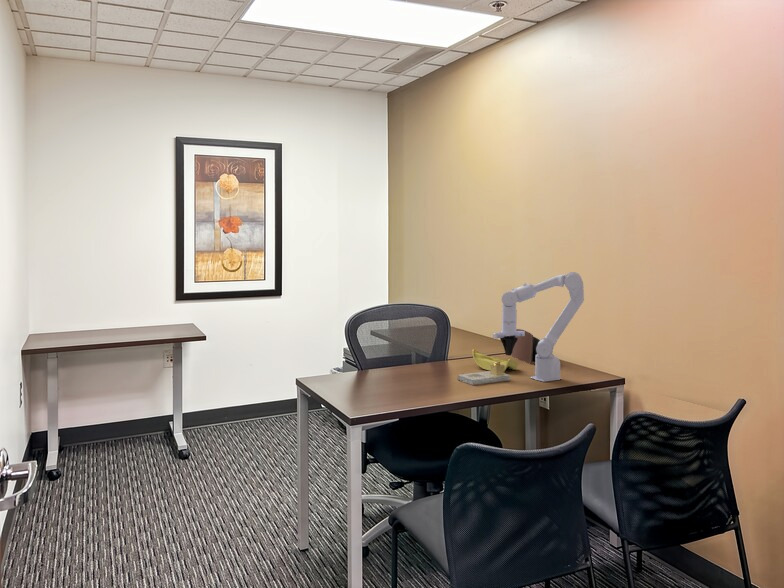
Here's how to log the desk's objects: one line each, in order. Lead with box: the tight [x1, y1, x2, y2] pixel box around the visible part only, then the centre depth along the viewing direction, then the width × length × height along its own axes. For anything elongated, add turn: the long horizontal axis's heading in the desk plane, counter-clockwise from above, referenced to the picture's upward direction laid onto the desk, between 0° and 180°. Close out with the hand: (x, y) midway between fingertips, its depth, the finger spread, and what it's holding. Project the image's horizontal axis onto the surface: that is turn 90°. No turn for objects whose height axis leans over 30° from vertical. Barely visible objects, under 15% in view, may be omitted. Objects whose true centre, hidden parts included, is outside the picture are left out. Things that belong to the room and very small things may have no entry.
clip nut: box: [490, 362, 505, 375], centre depth 246 cm, size 4×4×4 cm
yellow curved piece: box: [471, 348, 519, 372], centre depth 266 cm, size 20×7×10 cm
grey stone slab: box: [457, 370, 511, 386], centre depth 243 cm, size 18×10×2 cm, turn 118°
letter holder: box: [511, 328, 541, 365], centre depth 285 cm, size 10×20×14 cm, turn 14°
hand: (508, 355), depth 248 cm, fingers closed
